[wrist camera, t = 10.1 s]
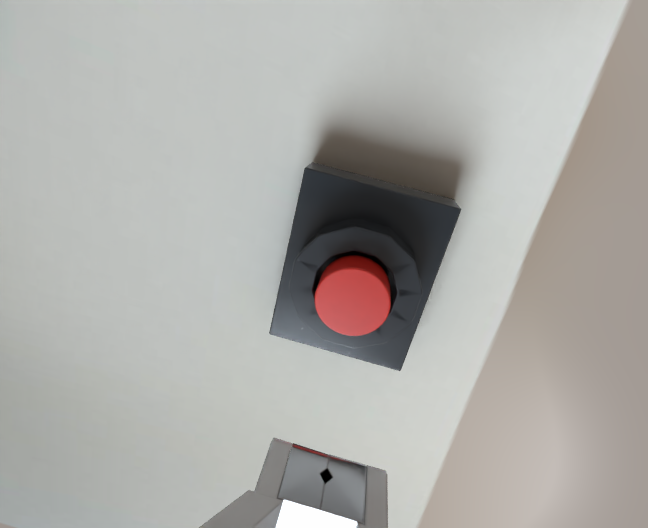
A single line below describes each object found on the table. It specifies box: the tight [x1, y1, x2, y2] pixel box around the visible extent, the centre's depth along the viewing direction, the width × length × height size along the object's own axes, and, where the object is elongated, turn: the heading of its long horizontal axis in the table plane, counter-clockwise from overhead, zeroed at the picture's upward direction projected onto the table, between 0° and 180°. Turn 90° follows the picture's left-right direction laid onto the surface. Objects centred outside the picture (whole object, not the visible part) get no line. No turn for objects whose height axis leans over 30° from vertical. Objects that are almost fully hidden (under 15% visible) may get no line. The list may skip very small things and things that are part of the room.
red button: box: [315, 255, 391, 336], centre depth 20 cm, size 4×4×2 cm
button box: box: [269, 162, 461, 371], centre depth 22 cm, size 10×8×4 cm
